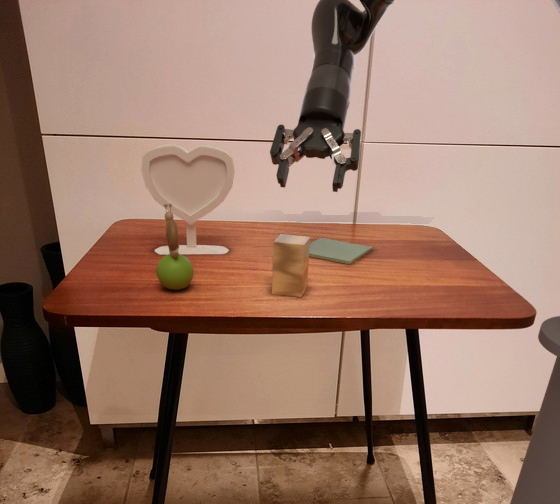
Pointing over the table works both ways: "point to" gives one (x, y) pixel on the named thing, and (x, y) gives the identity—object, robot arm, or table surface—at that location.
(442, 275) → the table surface
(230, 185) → the heart sculpture
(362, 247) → the square tile
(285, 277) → the birch block
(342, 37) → the robot arm
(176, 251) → the green ball with handle
